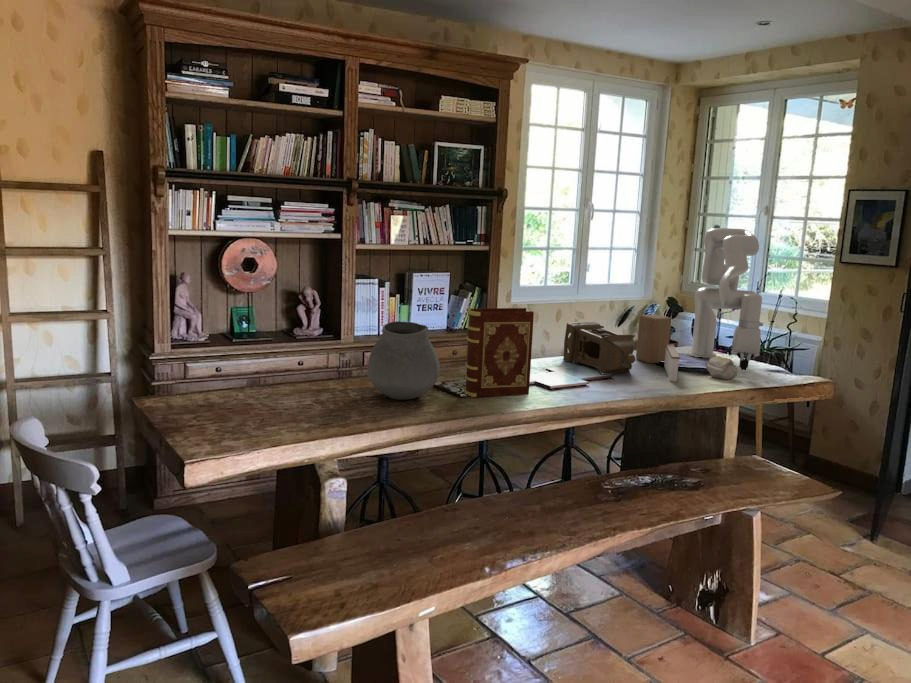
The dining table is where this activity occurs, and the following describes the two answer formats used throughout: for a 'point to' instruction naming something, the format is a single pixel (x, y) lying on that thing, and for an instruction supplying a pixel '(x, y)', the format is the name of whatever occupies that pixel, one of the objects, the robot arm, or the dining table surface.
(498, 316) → the decorative book
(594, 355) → the brown machine part
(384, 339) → the ceramic pot
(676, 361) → the grey board
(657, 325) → the wooden block
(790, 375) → the dining table surface
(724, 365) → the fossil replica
